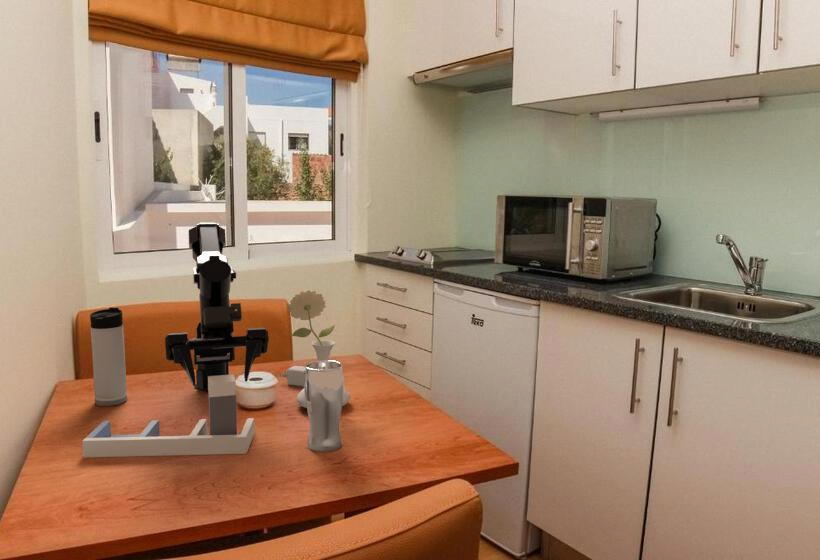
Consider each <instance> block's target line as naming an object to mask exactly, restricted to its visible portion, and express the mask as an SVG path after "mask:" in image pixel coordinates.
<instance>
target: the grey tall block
mask: <svg viewBox="0 0 820 560" xmlns="http://www.w3.org/2000/svg"><path fill="white" fill-rule="evenodd" d="M236 384H237V382H236V378H235V375H234V374H233V373H232V374H231V373H229V375H219V376H208V412H209V413H208V416H209V417H208V420H209V421H208V423H209V424H208V425H209V435H238V421H237V389H236V388H237V387H236V386H237V385H236Z"/></svg>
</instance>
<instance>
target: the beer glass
mask: <svg viewBox="0 0 820 560" xmlns="http://www.w3.org/2000/svg"><path fill="white" fill-rule="evenodd" d="M304 367H306V369H305V387H303V389H305V401H306V407H307V408H306V411H307V416H308V421H309V433H308V441H307V447H308V448H309V450H311V451H313V452H318V453H328V452H333V451H336V450H338V449H339V448H341V446H342V444H343V442H342V438H341V431H340V420H341V414H342V408H343V406H342V403H343V395H344V389H345V380H344V371H343V367H344V366H343V363H342V362H340V361H336V360H332V359H331V360H330V359H329V360H319V361H318V360H314V361H310V362H308V363H306V364H305V366H304Z"/></svg>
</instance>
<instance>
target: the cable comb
mask: <svg viewBox="0 0 820 560" xmlns="http://www.w3.org/2000/svg"><path fill="white" fill-rule="evenodd" d="M255 433H256V432H255V418H254V417H252V418H251V417H249V418H246V421H245V423H244V425H243V427H242V430H241V433H240V434H237V435H210V434H208V419H207V418H202V419H199V420H198V422H197V423H196V425H195V427H194V428H193V430H192V431H191V433H190V434H189V435H173V436H172V435H171V436H170V435H166V436H164V435H163V436H160V420H159V419H152V420H151V421H150V422H149V423H148V424H147V425H146V427H144V429H143V430H142V431H141V433H140V434H139V433H138V434H137V433H136V434H112V428H111V420H103V421H102V422H101V423H99V424H98V426H96V427H95V428H94V429H93V430H92V431H91V432H90V433H89V434H88V435H87V436H86V437H85V438H83V440H82V452H83V453H82V455H83V458H85V459H86V458H121V457H122V458H123V457H125V458H126V457H159V456H161V457H162V456H166V457H167V456H168V457H169V456H200V455H201V456H202V455H236V454H237V455H238V454H239V455H241V454H242V455H244V454H247V453H248V450H249V448H250V445H251V443H252V440H253V438H254V436H255Z"/></svg>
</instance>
